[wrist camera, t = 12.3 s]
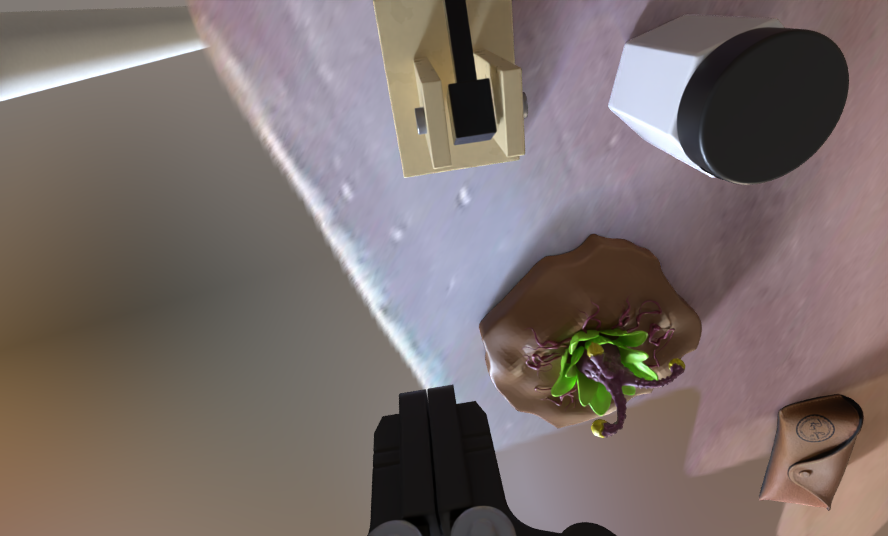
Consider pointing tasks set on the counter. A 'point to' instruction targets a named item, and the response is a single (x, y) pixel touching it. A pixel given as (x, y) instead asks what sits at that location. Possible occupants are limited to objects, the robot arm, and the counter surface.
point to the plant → (588, 334)
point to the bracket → (448, 82)
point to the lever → (466, 83)
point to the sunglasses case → (812, 450)
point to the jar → (732, 94)
